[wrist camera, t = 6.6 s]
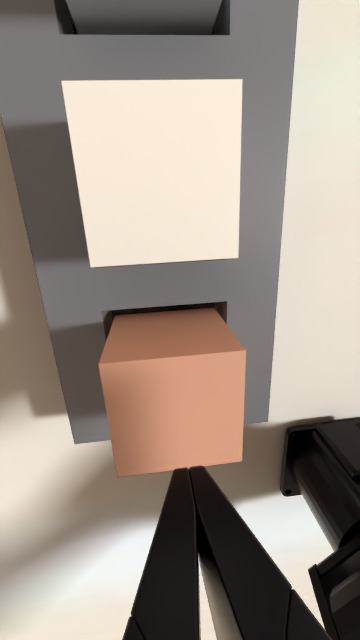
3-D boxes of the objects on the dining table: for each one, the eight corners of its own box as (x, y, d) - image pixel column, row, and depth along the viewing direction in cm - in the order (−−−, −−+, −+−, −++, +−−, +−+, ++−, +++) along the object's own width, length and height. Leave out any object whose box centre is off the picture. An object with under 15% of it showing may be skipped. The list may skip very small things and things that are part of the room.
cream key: (208, 245, 14) (238, 257, 10) (109, 251, 14) (90, 267, 9) (207, 131, 13) (242, 79, 8) (94, 134, 12) (61, 80, 8)
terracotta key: (214, 390, 16) (242, 461, 11) (126, 400, 16) (117, 477, 11) (213, 307, 14) (245, 350, 10) (115, 315, 14) (98, 364, 9)
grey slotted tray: (250, 391, 19) (267, 421, 16) (85, 409, 18) (74, 444, 15) (275, -171, 11) (321, -312, 8) (-33, -193, 10) (-107, -364, 7)
